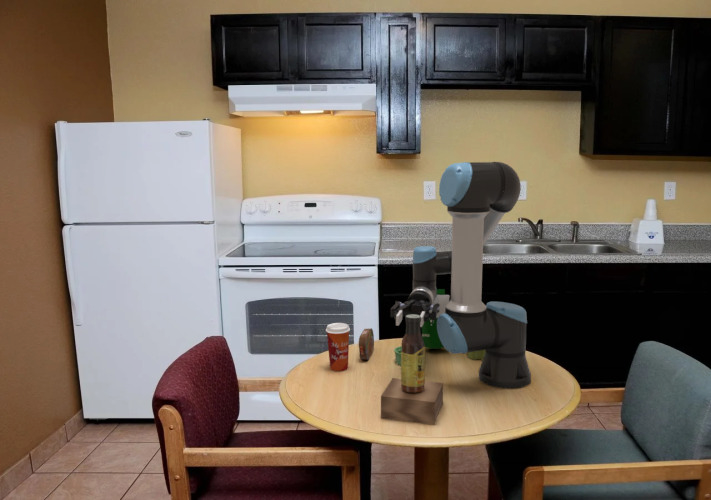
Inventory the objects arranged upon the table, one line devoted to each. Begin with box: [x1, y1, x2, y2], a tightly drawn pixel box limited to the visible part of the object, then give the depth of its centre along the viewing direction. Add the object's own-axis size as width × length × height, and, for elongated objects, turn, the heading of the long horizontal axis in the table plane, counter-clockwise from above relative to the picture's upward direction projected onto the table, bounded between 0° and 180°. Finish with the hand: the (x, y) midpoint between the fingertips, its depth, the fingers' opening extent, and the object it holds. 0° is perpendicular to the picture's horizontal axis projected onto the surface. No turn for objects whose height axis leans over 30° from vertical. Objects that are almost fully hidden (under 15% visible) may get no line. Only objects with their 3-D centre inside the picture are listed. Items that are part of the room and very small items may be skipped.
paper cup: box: [325, 322, 351, 372], centre depth 190 cm, size 8×8×14 cm
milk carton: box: [421, 288, 451, 349], centre depth 207 cm, size 9×9×20 cm
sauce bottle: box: [400, 314, 426, 393], centre depth 156 cm, size 6×6×20 cm
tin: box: [358, 328, 375, 361], centre depth 202 cm, size 15×3×8 cm, turn 168°
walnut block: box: [380, 377, 444, 426], centre depth 158 cm, size 14×13×6 cm
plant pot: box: [467, 350, 485, 360], centre depth 199 cm, size 9×9×9 cm
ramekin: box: [393, 345, 402, 366], centre depth 195 cm, size 9×9×4 cm
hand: (408, 321), depth 165 cm, fingers open, 6 cm apart
